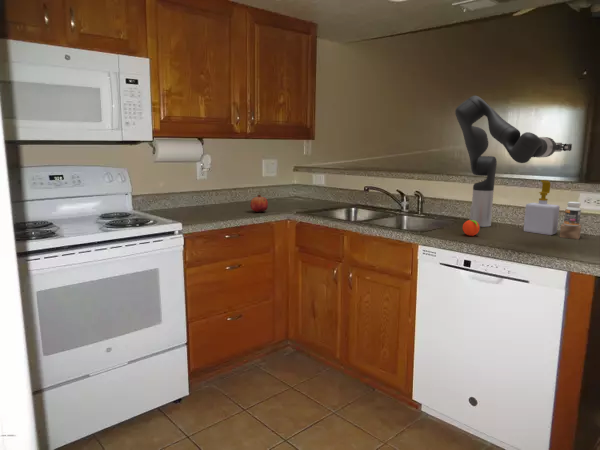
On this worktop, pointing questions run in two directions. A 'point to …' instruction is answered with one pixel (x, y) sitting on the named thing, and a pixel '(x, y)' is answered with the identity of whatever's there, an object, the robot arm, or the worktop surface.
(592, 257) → the worktop surface
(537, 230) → the soap bottle
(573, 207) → the pill bottle
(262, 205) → the fruit
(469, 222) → the clementine
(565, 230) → the walnut block
